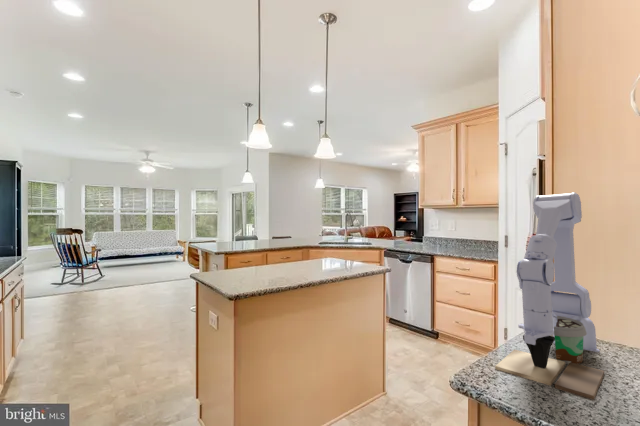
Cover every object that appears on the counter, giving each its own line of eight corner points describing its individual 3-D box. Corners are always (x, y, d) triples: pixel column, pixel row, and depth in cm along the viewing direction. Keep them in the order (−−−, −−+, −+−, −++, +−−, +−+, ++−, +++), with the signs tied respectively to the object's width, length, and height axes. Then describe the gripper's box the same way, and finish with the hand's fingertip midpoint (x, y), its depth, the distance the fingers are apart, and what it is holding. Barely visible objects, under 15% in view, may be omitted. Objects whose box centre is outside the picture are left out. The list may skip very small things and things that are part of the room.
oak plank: (565, 368, 75) (565, 361, 75) (551, 389, 66) (550, 382, 66) (514, 355, 84) (514, 349, 84) (495, 372, 74) (495, 365, 74)
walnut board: (570, 369, 75) (569, 362, 75) (604, 378, 70) (604, 370, 70) (555, 392, 65) (554, 384, 65) (594, 404, 61) (593, 395, 61)
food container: (589, 375, 72) (586, 332, 72) (556, 368, 76) (553, 327, 76) (588, 357, 81) (586, 319, 82) (559, 351, 85) (557, 315, 86)
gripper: (527, 301, 82) (529, 353, 81) (508, 312, 72) (511, 371, 72) (560, 305, 77) (563, 361, 76) (544, 318, 67) (547, 382, 66)
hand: (540, 367), depth 73 cm, fingers closed, pressing on oak plank
